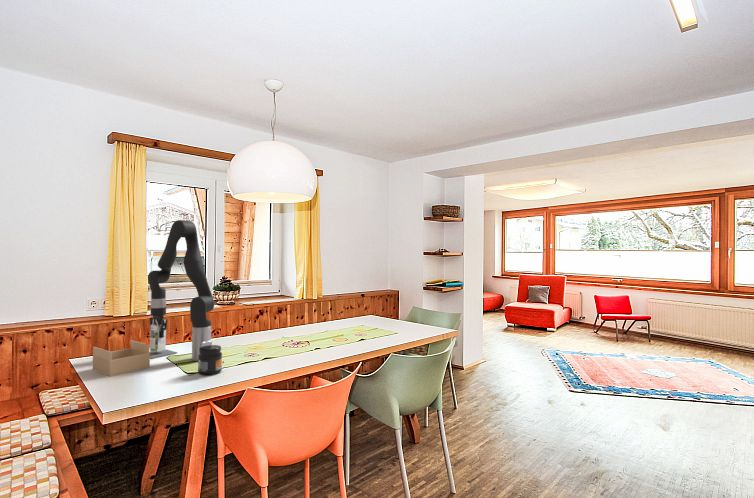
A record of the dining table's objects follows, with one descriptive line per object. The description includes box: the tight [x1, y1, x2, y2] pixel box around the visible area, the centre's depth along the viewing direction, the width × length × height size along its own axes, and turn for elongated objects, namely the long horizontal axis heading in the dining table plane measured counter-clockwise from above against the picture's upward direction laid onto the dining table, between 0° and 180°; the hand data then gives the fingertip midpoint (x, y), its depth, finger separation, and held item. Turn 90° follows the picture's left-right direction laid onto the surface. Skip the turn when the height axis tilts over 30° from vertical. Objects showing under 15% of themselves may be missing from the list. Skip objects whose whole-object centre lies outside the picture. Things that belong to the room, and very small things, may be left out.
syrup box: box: [149, 324, 167, 352], centre depth 220 cm, size 6×6×14 cm
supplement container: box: [197, 344, 223, 376], centre depth 188 cm, size 10×10×12 cm
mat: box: [149, 349, 178, 360], centre depth 220 cm, size 14×14×1 cm
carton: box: [92, 339, 151, 377], centre depth 194 cm, size 18×18×11 cm
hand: (158, 336), depth 220 cm, fingers closed on syrup box, 6 cm apart
